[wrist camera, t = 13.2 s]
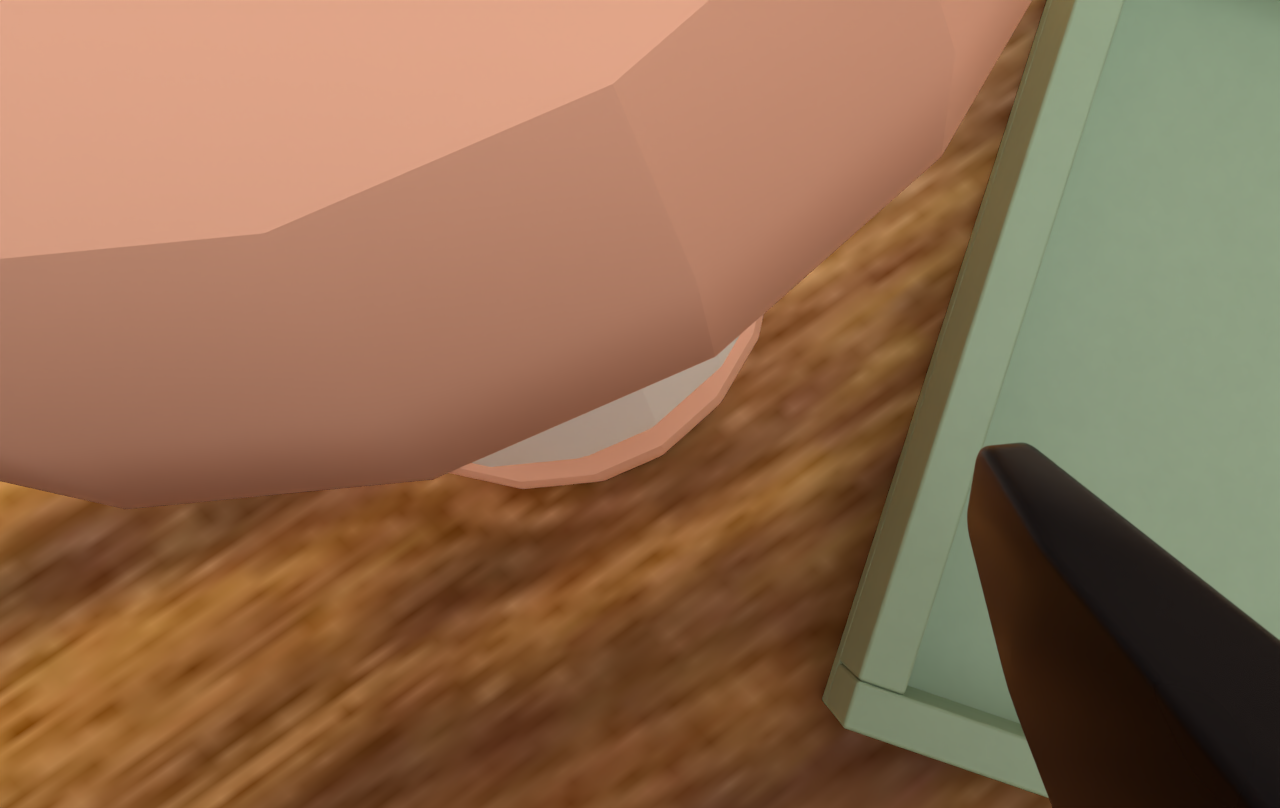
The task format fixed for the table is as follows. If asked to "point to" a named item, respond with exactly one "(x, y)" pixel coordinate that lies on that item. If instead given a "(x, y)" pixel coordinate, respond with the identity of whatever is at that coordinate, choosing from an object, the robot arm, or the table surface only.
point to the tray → (1092, 354)
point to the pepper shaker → (428, 224)
